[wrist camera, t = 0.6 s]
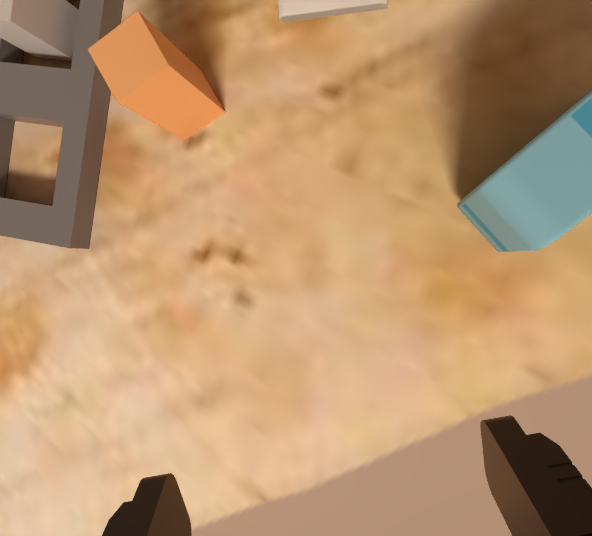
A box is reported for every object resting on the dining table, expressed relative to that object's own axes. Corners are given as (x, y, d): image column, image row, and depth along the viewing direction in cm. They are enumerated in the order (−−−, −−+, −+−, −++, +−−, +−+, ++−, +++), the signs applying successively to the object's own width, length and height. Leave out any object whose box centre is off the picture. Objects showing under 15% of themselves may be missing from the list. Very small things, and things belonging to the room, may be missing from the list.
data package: (495, 253, 36) (542, 253, 24) (453, 207, 37) (479, 184, 25) (637, 139, 34) (764, 77, 22) (590, 91, 35) (690, 6, 23)
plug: (225, 112, 40) (169, 65, 30) (185, 139, 41) (117, 102, 31) (201, 70, 40) (137, 11, 30) (161, 98, 41) (87, 49, 31)
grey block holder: (14, -45, 43) (-64, -106, 36) (128, -39, 41) (70, -102, 34) (-20, 228, 45) (-103, 223, 37) (88, 248, 43) (24, 247, 35)
